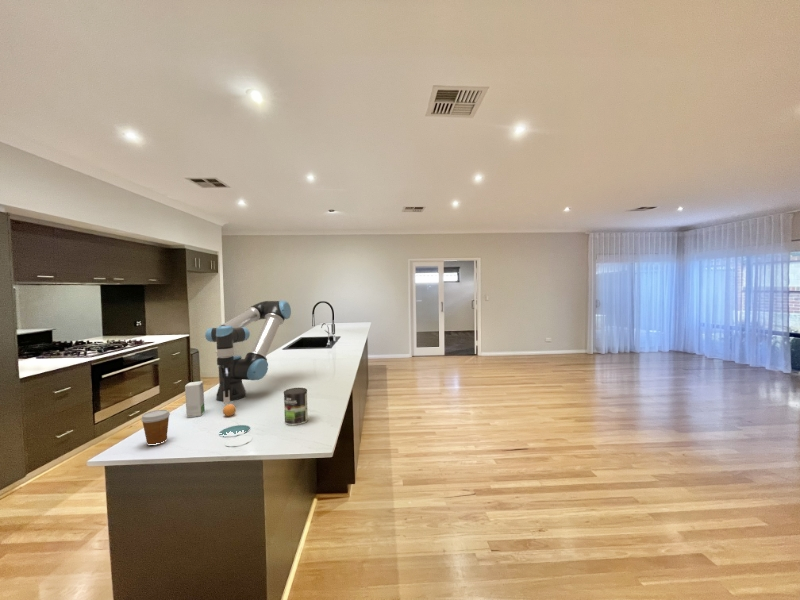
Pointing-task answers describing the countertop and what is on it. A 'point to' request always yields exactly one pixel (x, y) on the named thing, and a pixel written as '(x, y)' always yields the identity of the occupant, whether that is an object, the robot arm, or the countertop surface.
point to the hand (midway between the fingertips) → (226, 402)
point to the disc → (234, 429)
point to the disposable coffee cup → (155, 426)
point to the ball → (229, 410)
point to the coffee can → (295, 406)
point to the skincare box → (194, 399)
